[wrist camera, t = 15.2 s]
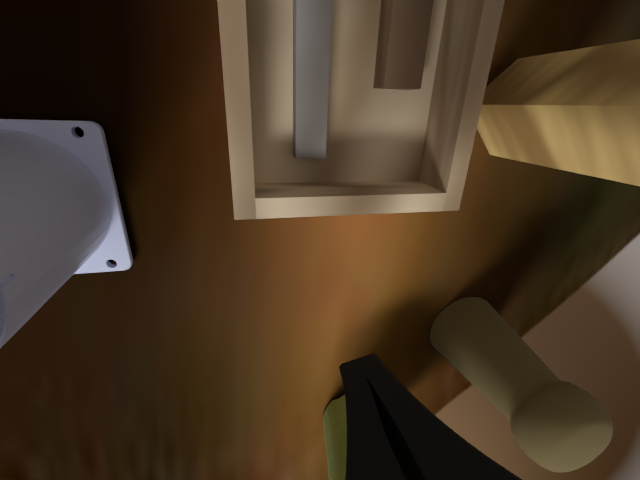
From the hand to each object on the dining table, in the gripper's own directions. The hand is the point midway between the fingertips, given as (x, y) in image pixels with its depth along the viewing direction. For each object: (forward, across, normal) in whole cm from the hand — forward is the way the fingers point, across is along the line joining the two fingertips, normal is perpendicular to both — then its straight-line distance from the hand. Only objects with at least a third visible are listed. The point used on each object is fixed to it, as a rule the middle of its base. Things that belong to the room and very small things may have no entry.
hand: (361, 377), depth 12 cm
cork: (+11, -11, +11) cm, 19 cm away
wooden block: (+11, -14, -6) cm, 19 cm away
